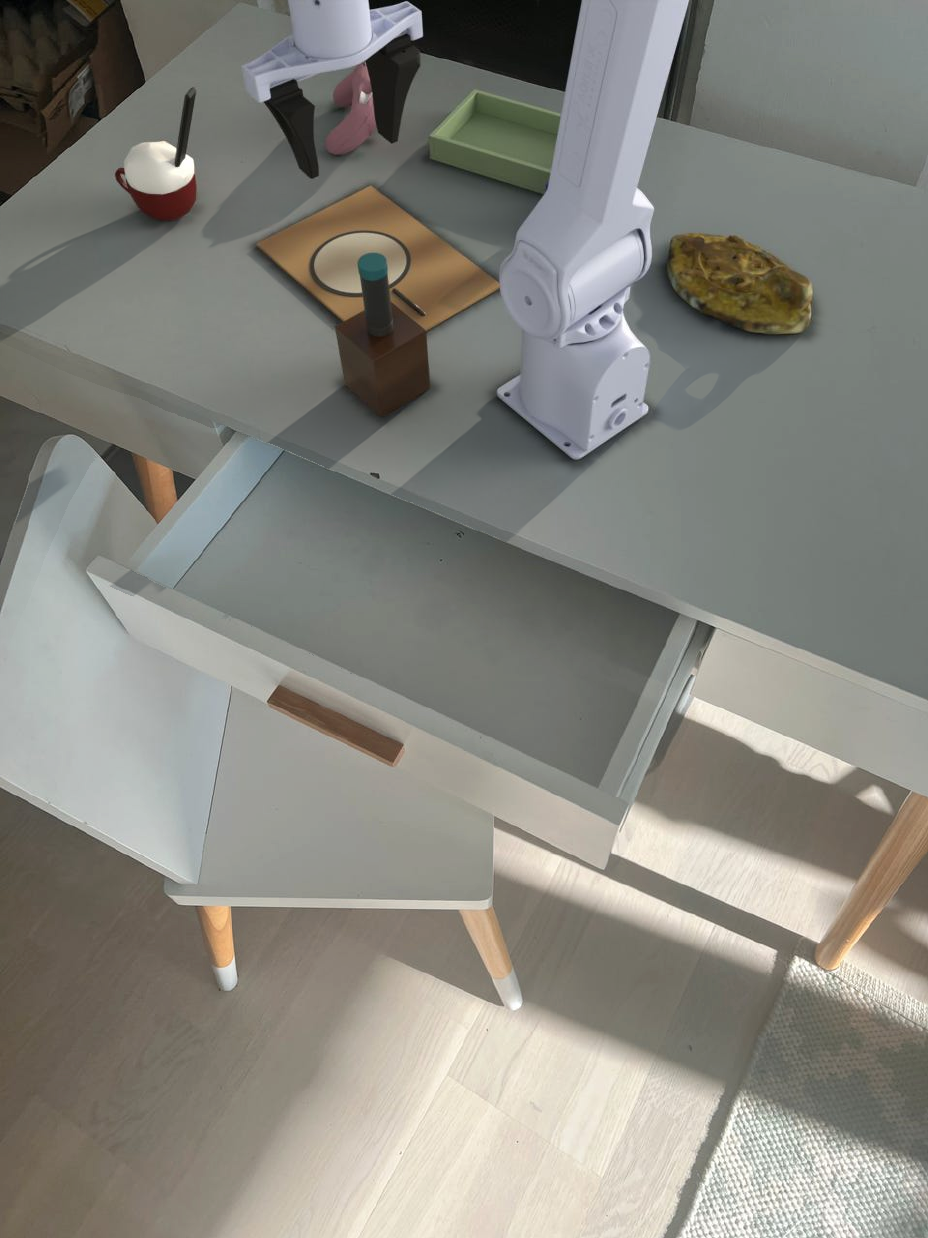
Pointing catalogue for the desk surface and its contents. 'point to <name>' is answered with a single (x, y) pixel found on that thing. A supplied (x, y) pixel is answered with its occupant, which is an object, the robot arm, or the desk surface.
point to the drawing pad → (370, 223)
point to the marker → (376, 293)
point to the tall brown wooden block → (384, 361)
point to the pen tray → (498, 140)
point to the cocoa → (162, 173)
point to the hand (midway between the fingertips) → (349, 154)
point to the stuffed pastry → (739, 283)
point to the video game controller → (353, 112)
